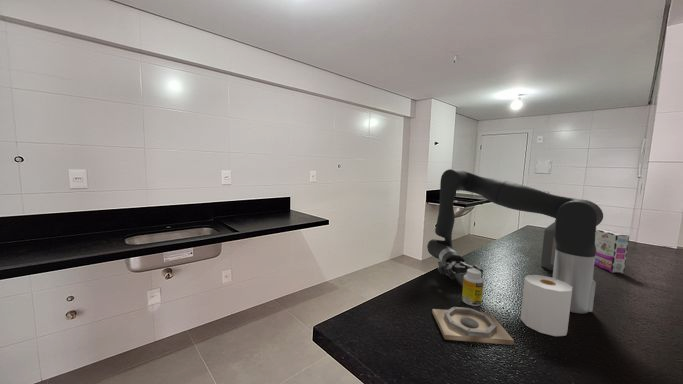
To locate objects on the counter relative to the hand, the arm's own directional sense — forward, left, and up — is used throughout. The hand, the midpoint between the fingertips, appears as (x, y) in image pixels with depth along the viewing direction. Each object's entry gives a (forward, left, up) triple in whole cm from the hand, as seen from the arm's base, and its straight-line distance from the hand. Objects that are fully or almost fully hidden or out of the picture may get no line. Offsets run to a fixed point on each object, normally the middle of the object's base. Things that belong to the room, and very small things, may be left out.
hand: (466, 277), depth 88 cm
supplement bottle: (0, +5, -6) cm, 8 cm away
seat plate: (+6, +19, -6) cm, 21 cm away
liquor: (-49, -31, -6) cm, 58 cm away
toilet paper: (-15, +15, -6) cm, 22 cm away
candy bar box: (-73, -35, -6) cm, 81 cm away
